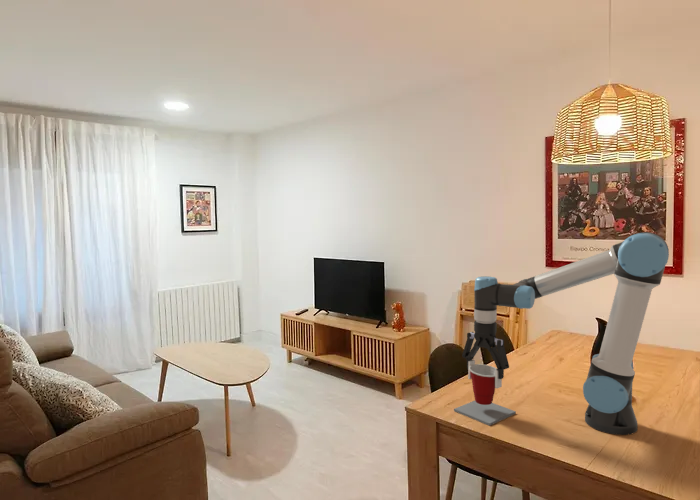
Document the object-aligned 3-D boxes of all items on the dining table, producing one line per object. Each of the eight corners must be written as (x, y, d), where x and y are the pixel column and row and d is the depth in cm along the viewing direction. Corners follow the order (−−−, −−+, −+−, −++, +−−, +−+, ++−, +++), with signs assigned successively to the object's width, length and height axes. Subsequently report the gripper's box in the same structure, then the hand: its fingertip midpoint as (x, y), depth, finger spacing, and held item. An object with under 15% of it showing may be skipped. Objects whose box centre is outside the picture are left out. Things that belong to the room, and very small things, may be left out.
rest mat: (515, 413, 162) (515, 411, 162) (489, 425, 153) (489, 423, 153) (480, 400, 174) (480, 398, 174) (453, 411, 165) (453, 408, 165)
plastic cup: (492, 411, 156) (492, 376, 155) (463, 402, 163) (463, 369, 162) (505, 401, 164) (505, 367, 163) (476, 393, 171) (477, 361, 170)
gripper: (521, 325, 154) (520, 389, 156) (465, 314, 173) (464, 371, 174) (508, 329, 150) (507, 395, 151) (452, 316, 168) (451, 376, 170)
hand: (484, 382), depth 163 cm, fingers closed on plastic cup, 11 cm apart
